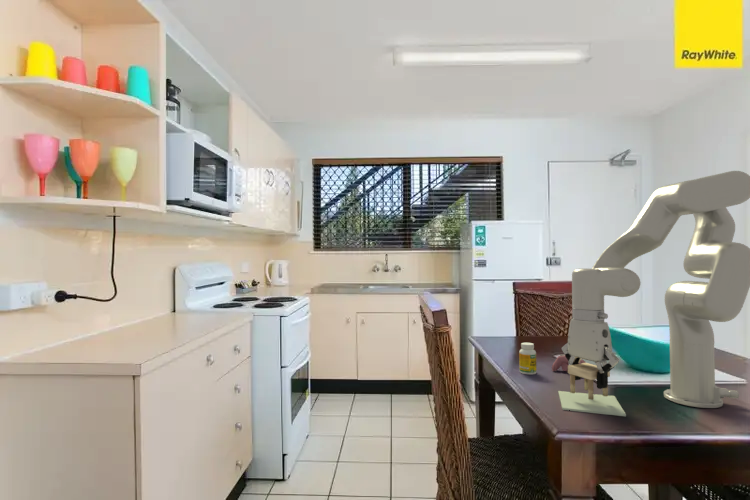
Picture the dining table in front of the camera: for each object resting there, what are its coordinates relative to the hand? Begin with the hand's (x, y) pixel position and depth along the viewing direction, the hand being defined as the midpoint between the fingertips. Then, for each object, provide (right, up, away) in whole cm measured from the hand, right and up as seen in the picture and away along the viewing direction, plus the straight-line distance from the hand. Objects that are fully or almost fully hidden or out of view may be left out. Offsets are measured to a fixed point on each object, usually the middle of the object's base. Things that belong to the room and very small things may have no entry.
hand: (588, 383), depth 111 cm
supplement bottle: (-5, -6, +29) cm, 30 cm away
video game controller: (+8, -6, +29) cm, 31 cm away
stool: (0, -3, 0) cm, 3 cm away
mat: (0, -5, 0) cm, 5 cm away
